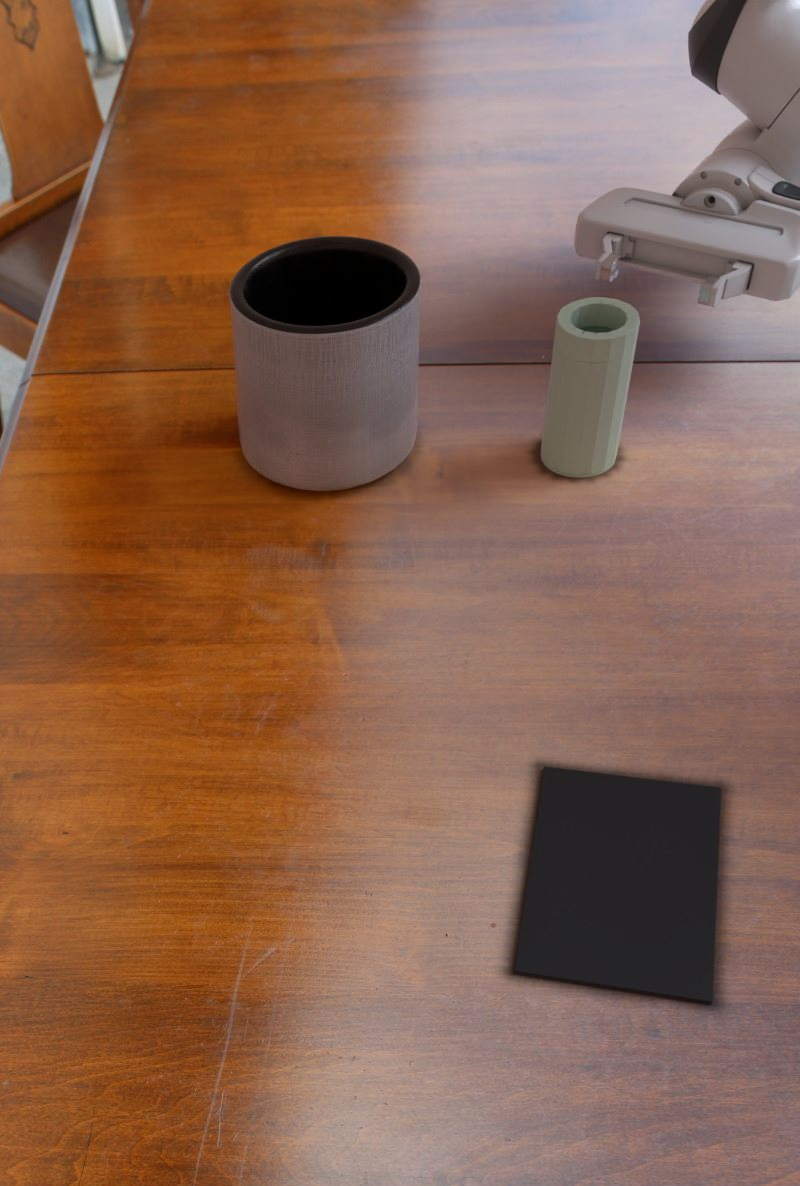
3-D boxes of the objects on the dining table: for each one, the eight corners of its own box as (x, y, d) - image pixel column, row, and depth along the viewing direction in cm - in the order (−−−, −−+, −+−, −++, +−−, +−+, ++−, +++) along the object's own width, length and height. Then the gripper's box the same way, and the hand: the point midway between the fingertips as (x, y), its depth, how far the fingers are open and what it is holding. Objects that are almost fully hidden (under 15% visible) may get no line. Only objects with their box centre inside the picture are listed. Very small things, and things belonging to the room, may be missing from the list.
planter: (309, 523, 115) (302, 356, 103) (207, 442, 124) (190, 279, 111) (453, 450, 119) (463, 282, 107) (345, 377, 128) (343, 213, 116)
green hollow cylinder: (630, 456, 116) (656, 314, 106) (583, 489, 114) (605, 348, 104) (572, 428, 119) (592, 288, 109) (525, 460, 117) (540, 320, 107)
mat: (543, 771, 95) (544, 766, 94) (719, 792, 92) (721, 787, 92) (512, 976, 85) (513, 970, 84) (710, 1007, 82) (712, 1001, 81)
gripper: (617, 156, 122) (547, 223, 116) (841, 199, 114) (778, 274, 107) (607, 225, 127) (539, 293, 121) (820, 272, 119) (760, 347, 112)
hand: (653, 285), depth 114 cm, fingers open, 8 cm apart
